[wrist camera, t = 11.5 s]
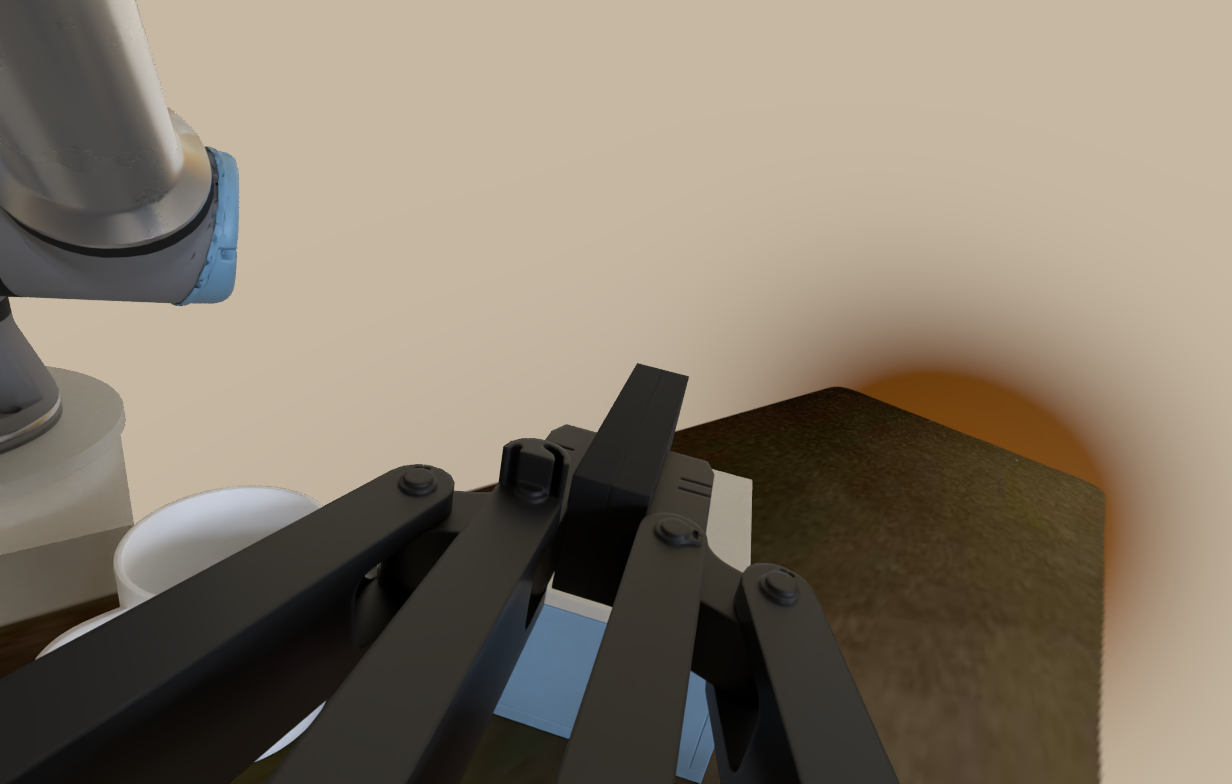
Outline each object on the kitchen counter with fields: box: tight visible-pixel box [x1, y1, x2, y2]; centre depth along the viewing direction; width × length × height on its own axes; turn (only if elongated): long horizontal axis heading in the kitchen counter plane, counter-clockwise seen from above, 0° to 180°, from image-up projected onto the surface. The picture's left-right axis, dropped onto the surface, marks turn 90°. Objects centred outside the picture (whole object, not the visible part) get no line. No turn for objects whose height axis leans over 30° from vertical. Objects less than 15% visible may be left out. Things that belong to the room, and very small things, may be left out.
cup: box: [35, 486, 326, 762], centre depth 28 cm, size 8×12×10 cm
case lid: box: [544, 469, 752, 623], centre depth 37 cm, size 16×13×1 cm
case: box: [493, 604, 715, 783], centre depth 38 cm, size 16×13×8 cm
